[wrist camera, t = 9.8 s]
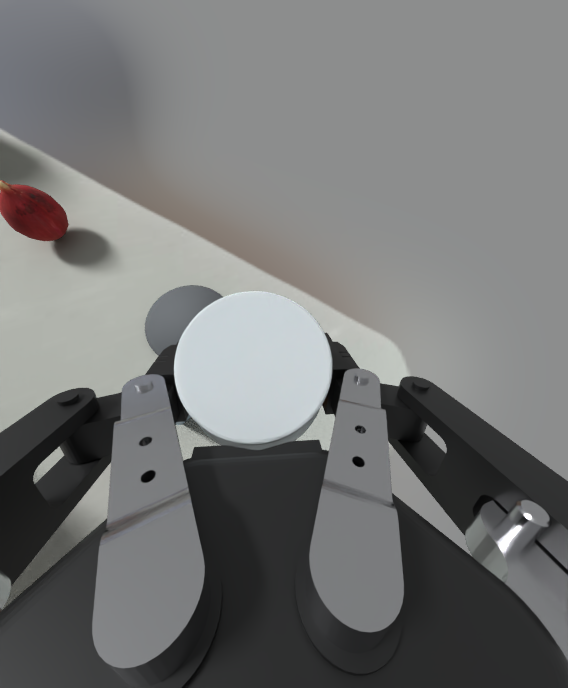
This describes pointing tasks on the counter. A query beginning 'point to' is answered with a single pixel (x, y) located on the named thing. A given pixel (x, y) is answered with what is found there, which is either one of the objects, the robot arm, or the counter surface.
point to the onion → (32, 212)
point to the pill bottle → (253, 370)
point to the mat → (175, 314)
